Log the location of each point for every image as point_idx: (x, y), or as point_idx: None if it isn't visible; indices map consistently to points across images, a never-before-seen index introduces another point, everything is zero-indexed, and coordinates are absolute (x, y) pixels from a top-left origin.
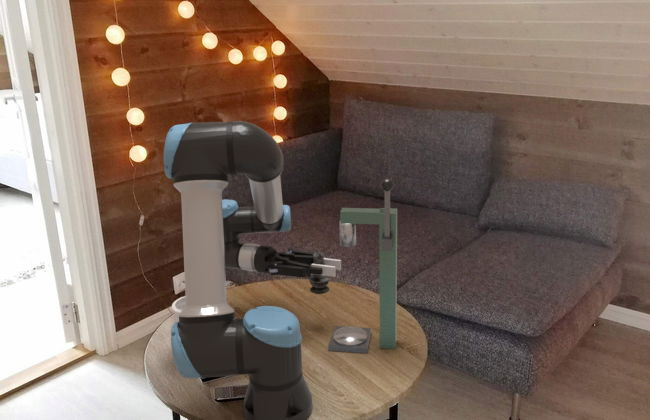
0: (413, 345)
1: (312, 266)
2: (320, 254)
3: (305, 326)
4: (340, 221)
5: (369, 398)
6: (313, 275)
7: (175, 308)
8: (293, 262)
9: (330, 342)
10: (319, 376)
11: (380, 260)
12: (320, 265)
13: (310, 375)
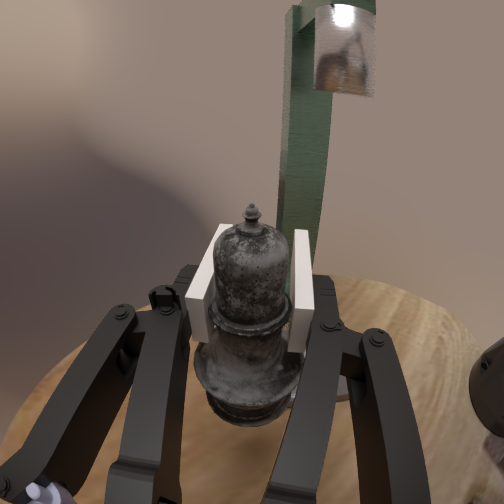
0: None
1: (313, 312)
2: (269, 226)
3: (250, 485)
4: (359, 9)
5: (424, 309)
6: (272, 365)
7: None
8: (307, 442)
9: (338, 393)
10: (427, 382)
11: (328, 127)
12: (307, 270)
13: (433, 396)
